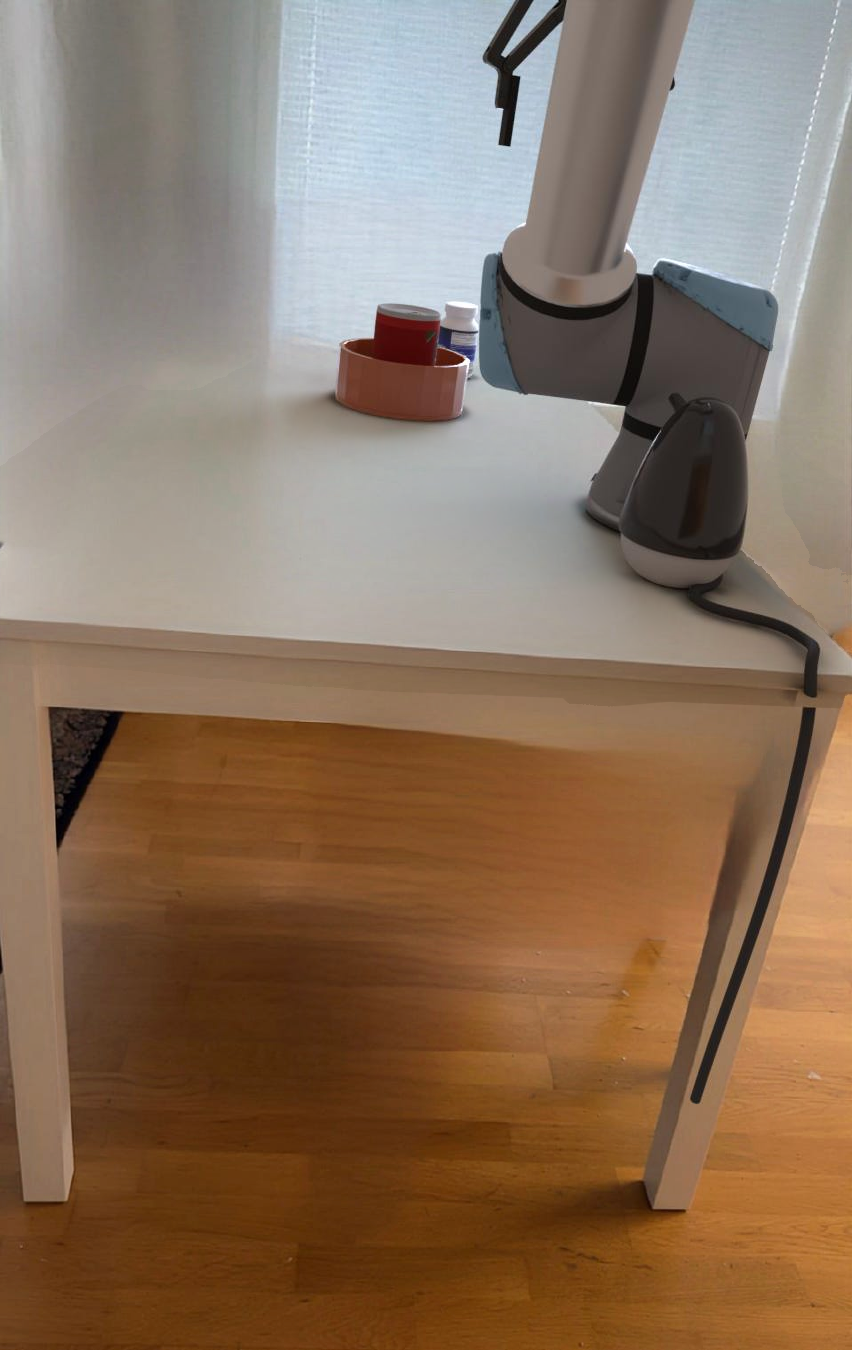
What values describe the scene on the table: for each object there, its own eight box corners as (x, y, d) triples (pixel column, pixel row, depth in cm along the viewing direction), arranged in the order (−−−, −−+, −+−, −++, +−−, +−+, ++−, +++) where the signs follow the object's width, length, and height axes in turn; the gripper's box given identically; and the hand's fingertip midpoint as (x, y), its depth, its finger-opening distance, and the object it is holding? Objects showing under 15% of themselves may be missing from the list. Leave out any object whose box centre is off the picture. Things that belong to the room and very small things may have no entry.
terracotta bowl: (472, 426, 130) (480, 372, 127) (340, 414, 127) (345, 358, 124) (449, 395, 144) (456, 345, 141) (330, 383, 141) (334, 333, 138)
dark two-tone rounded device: (684, 553, 97) (726, 384, 90) (753, 599, 88) (806, 417, 82) (586, 554, 93) (623, 379, 86) (650, 603, 85) (695, 412, 78)
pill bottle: (430, 368, 159) (438, 299, 154) (467, 372, 160) (477, 303, 156) (437, 377, 154) (446, 305, 149) (475, 380, 155) (486, 309, 151)
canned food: (429, 410, 132) (441, 318, 127) (365, 401, 132) (375, 309, 127) (430, 396, 139) (441, 309, 134) (369, 388, 139) (378, 300, 134)
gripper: (708, -57, 110) (662, 168, 120) (474, -101, 105) (445, 138, 115) (738, -68, 104) (687, 172, 113) (489, -115, 99) (458, 139, 108)
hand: (565, 155), depth 114 cm, fingers open, 13 cm apart
